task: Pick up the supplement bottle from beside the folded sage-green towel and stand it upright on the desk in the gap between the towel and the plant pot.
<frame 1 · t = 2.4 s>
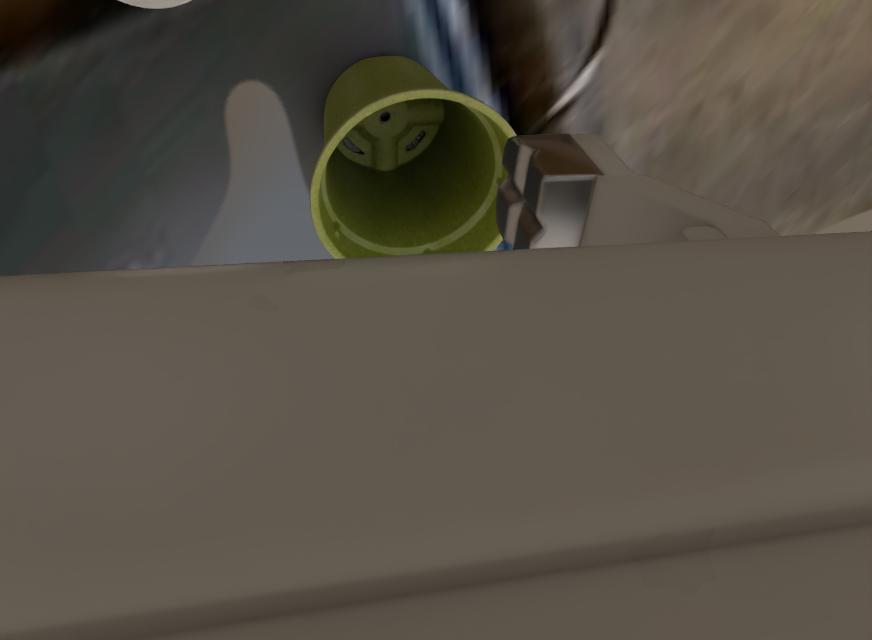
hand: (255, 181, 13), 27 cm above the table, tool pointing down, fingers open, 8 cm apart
plant pot: (384, 109, 41), on the table
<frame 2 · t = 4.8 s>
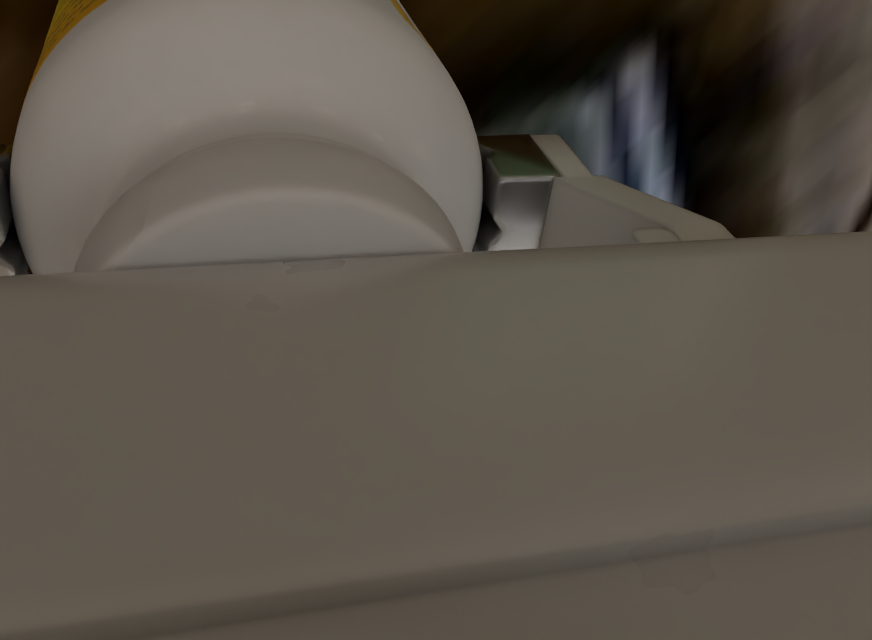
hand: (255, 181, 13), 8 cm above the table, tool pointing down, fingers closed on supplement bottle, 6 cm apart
supplement bottle: (231, 8, 19), on the table, touching gripper
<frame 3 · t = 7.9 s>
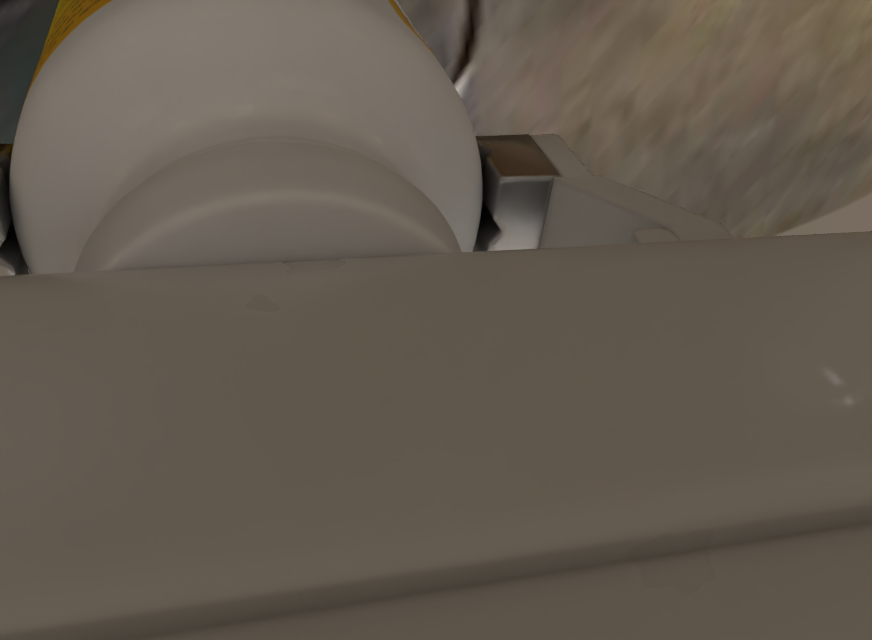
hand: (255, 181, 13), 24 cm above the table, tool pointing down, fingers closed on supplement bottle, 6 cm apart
supplement bottle: (231, 10, 19), point 16 cm above the table, touching gripper
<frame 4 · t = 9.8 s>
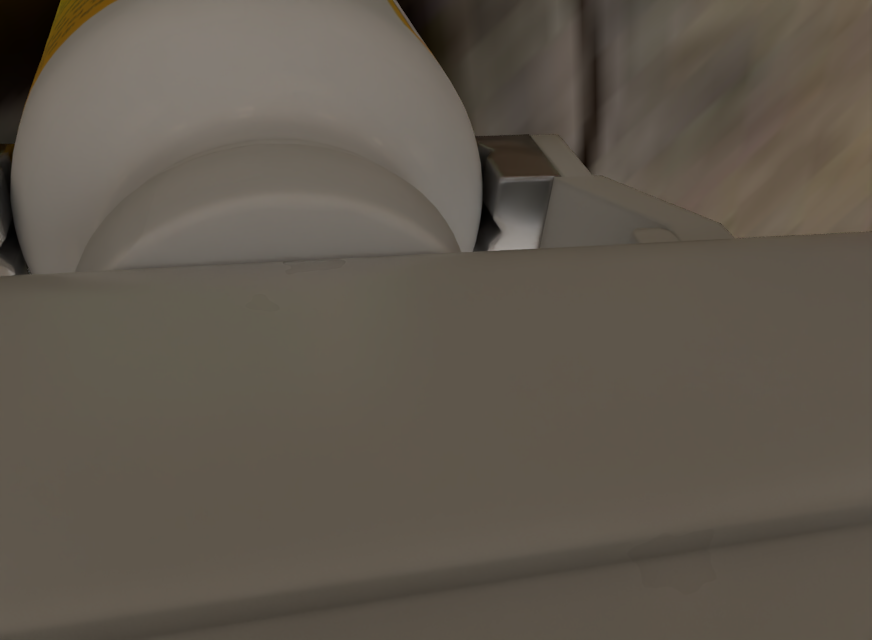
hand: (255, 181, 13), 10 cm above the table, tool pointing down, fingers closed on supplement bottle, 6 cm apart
supplement bottle: (231, 11, 19), point 2 cm above the table, touching gripper
when the fingers open (8 cm above the table, at t = 11.1 s): supplement bottle stays where it is, on the table.
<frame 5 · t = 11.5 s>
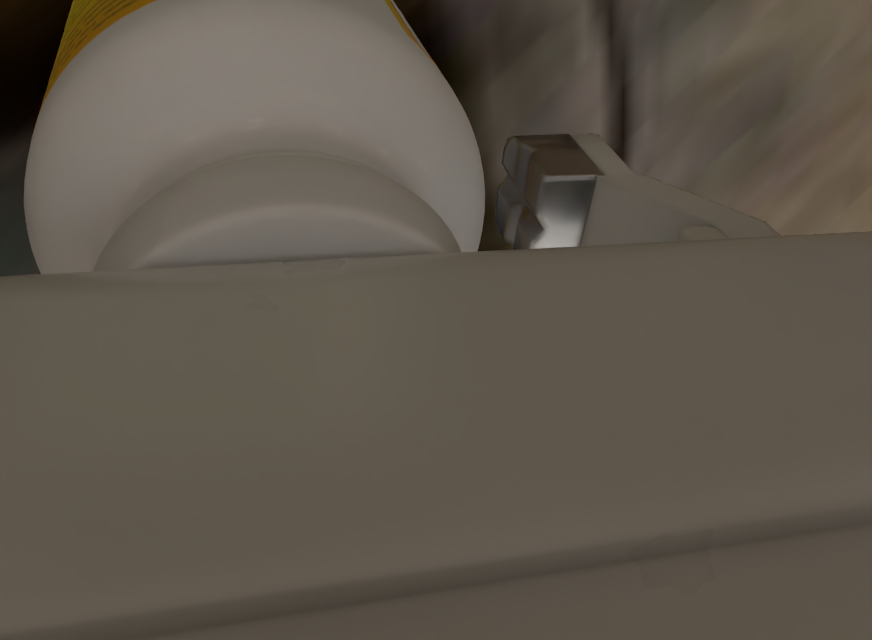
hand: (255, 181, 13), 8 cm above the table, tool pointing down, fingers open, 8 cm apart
supplement bottle: (236, 19, 19), on the table
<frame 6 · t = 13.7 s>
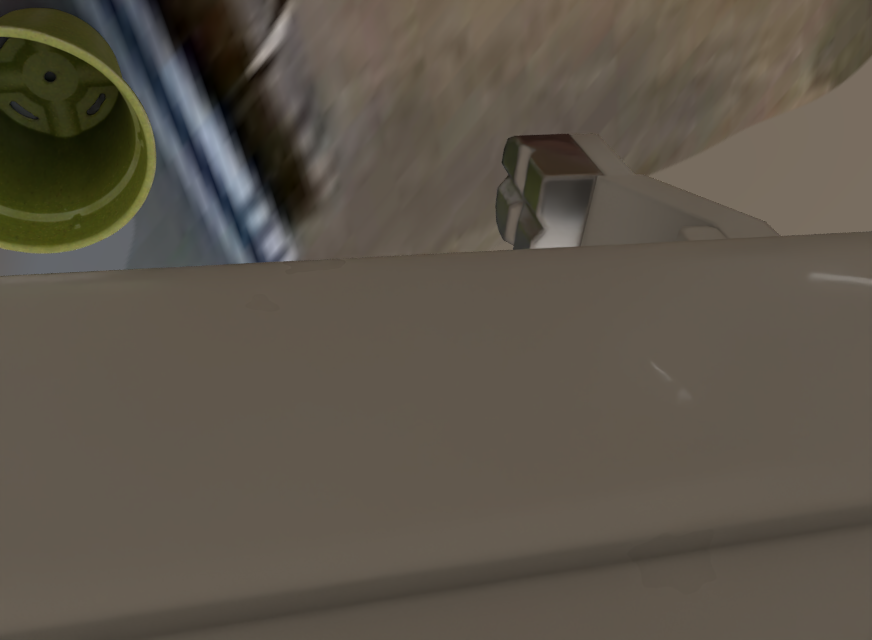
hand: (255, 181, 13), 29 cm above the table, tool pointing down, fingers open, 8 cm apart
plant pot: (53, 69, 38), on the table
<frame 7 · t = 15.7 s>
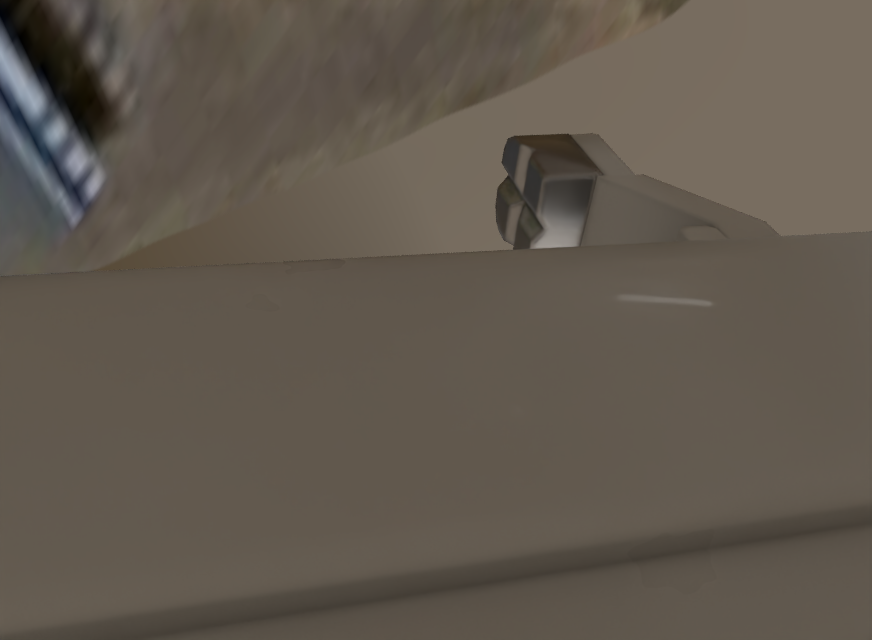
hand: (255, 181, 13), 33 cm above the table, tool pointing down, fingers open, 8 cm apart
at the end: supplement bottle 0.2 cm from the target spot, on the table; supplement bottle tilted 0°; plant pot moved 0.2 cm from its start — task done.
